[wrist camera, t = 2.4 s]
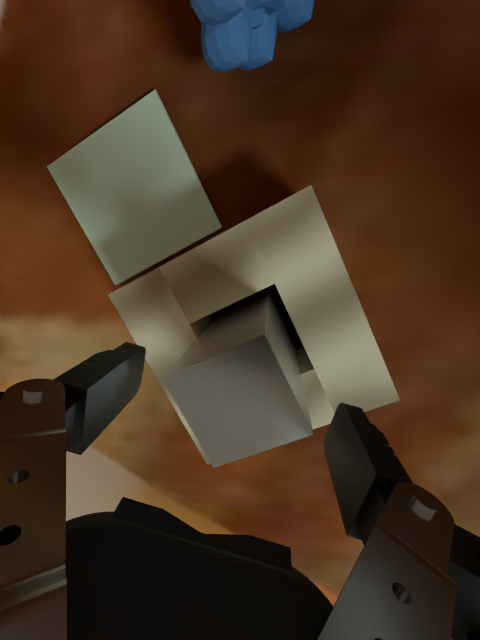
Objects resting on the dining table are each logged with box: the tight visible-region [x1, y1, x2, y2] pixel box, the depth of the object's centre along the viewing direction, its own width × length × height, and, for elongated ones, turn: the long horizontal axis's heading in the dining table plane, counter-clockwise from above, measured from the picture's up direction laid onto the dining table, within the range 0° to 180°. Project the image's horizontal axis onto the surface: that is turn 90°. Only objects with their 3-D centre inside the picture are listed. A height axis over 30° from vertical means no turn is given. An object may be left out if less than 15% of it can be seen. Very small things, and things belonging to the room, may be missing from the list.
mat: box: [47, 90, 223, 285], centre depth 21 cm, size 10×10×1 cm
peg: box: [162, 289, 314, 467], centre depth 17 cm, size 4×4×12 cm
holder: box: [108, 185, 400, 465], centre depth 20 cm, size 14×14×5 cm
